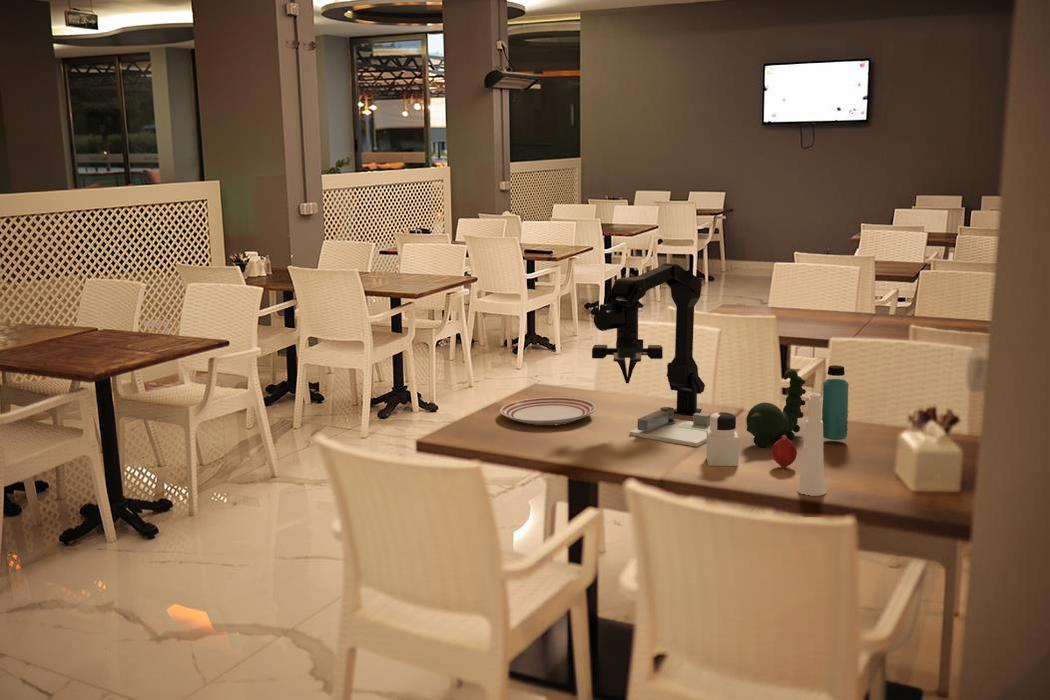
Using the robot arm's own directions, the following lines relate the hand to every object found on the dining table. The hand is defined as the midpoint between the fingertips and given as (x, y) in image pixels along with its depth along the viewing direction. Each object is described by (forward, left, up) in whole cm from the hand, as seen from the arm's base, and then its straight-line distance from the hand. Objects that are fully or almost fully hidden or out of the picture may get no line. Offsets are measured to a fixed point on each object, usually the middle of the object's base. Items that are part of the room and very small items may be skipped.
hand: (627, 383), depth 272 cm
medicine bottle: (+12, +34, -13) cm, 39 cm away
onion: (+8, +48, -13) cm, 51 cm away
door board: (-5, +13, -13) cm, 19 cm away
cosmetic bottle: (+21, +60, -13) cm, 65 cm away
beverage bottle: (-19, +50, -13) cm, 55 cm away
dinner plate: (+1, -26, -14) cm, 29 cm away
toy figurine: (-12, +37, -13) cm, 41 cm away
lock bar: (-3, +7, -11) cm, 14 cm away
